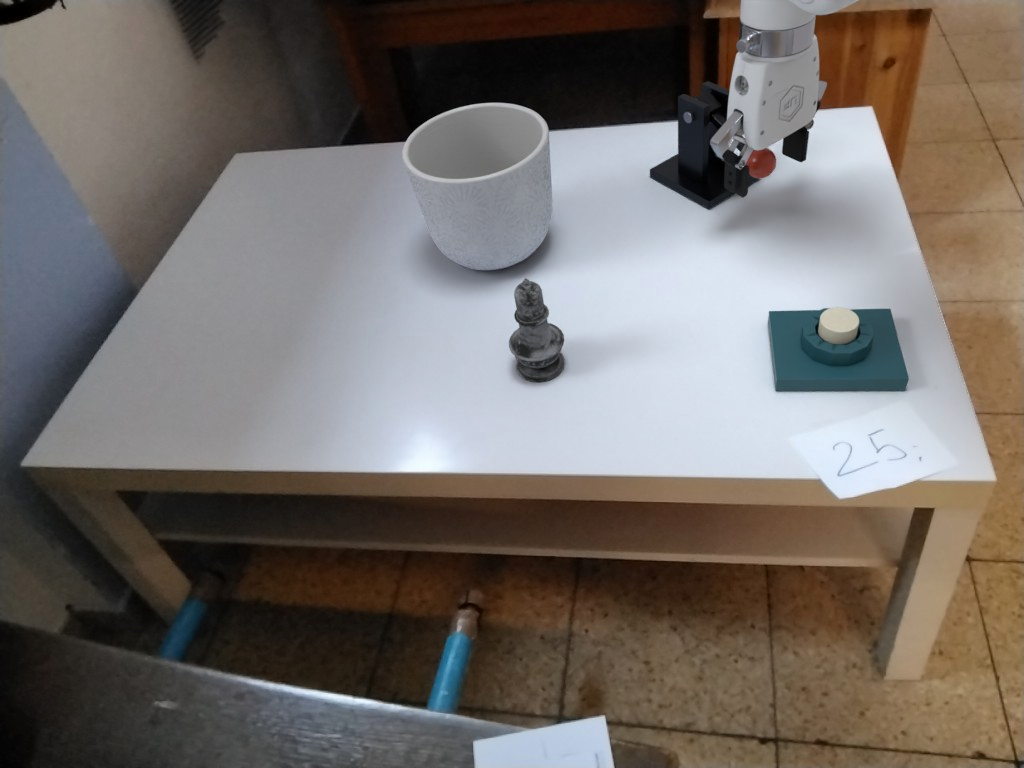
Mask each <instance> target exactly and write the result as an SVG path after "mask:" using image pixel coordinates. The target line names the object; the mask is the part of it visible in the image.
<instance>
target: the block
mask: <svg viewBox="0 0 1024 768" xmlns="http://www.w3.org/2000/svg"><path fill="white" fill-rule="evenodd" d="M830 308H831V307H823V308H821V309H809V310H808V309H805V310H804V309H803V310H799V309H798V310H769V311H768V315H767V317H768V318H767V327H768V336H769V347H770V354H771V362H772V371H773V381H774V389H775V392H900V391H901V392H903V391H904V392H905V391H907V387H908V383H909V380H910V378H909V375H908V371H907V367H906V363H905V359H904V356H903V351H902V348H901V343H900V340H899V336H898V332H897V329H896V325H895V321H894V317H893V313H892V309H891V308H853V309H851V308H850V309H849V308H848V309H849V310H851V311H853V312H854V313H855V314H856V315H857V316H858V318H859V326H858V331H857V335H856V338H855V339H854V340H853V341H852V342H850V343H847V344H843V345H836V344H831V343H828V342H826V341H824V340H823V339H822V338H821V337H820V336H819V333H818V327H819V321H820V316H821V314H822V313H823V312H824V311H825V310H827V309H830Z"/></svg>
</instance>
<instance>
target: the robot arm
mask: <svg viewBox="0 0 1024 768" xmlns="http://www.w3.org/2000/svg"><path fill="white" fill-rule="evenodd" d="M859 1H860V0H740V10H739V11H740V12H739V14H740V15H739V28H738V31H739V32H738V33H739V34H738V40H737V42H736V45H735V46H736V50H737V51H738V52H737V53H736V54H735V58H734V62H733V67H732V73H731V78H730V84H729V90H730V91H729V99H728V110H727V121H726V122H725V123H724V124H723V125H722V127H721V128H720V129H719V130H718V131H717V132H716V134H715V135H714V136H713V137H712V138H711V140H710V145H711V147H712V148H713V150H714V152H715V156H716V157H718V158H719V159H721V161H723V162H725V175H724V187H725V189H727V190H729V191H731V192H733V193H735V194H734V195H736V196H738V197H741V198H744V197H747V196H748V193H749V186H748V183H749V166H748V165H746V162H747V161H748V159H749V157H750V155H751V153H752V151H753V149H754V150H762V149H765V148H769V147H771V146H772V145H774V144H776V143H778V142H780V141H782V146H781V147H782V149H781V154H782V155H783V156H784V157H787V158H790V159H792V160H794V161H796V162H798V163H803V162H804V161H806V160H807V153H808V146H809V145H808V144H809V137H810V130H811V129H812V128H813V127H814V125H815V120H814V118H815V116H816V114H817V112H818V111H819V109H820V107H821V104H822V103H821V100H822V98H823V96H824V94H825V92H826V89H827V87H828V83H827V81H824V80H822V79H820V51H819V42H818V37H817V35H816V34H815V30H816V29H815V28H816V20H817V19H816V18H817V16H827V15H829V14H830V15H831V14H835V13H837V12H839V11H841V10H843V9H845V8H847V7H850V6H852V5H853V4H855V3H857V2H859ZM741 136H743V137H744V138H743V137H741ZM739 142H740V143H742V144H744V147H743V149H742V151H741V152H740V153H739V155H738V154H737V153H735V151H736V150H737V148H736V147H737V145H738V143H739Z"/></svg>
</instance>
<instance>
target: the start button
mask: <svg viewBox="0 0 1024 768" xmlns="http://www.w3.org/2000/svg"><path fill="white" fill-rule="evenodd" d="M829 308H830V309H827V310H825V311H824V312H823V313H822V314H821V316H820V321H819V327H818V333H819V336H820V337H821V338H822V339H823V340H824V341H826V342H828V343H831V344H836V345H843V344H847V343H850V342H852V341H853V340H854V339H855V338H856V335H857V331H858V326H859V318H858V316H857V315H856V314H855V313H854V312H853V311H851V310H849V308H845V307H840V306H839V307H838V306H837V307H829Z"/></svg>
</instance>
